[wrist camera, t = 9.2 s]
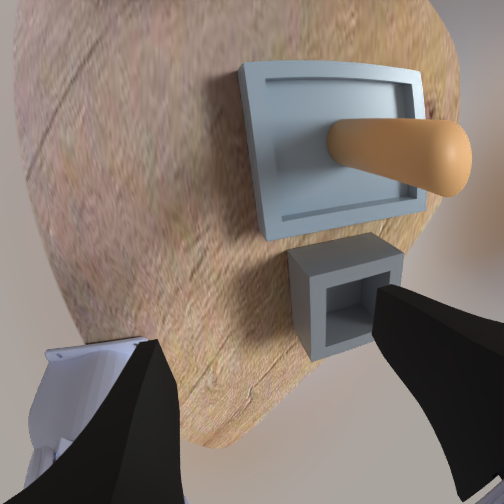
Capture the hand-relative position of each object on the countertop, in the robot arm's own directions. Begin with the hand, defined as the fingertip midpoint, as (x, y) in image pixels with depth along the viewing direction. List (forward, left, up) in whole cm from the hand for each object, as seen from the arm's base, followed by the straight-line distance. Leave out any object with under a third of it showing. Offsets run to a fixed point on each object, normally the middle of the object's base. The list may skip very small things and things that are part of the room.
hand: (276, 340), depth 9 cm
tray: (+8, +5, -10) cm, 14 cm away
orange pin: (+8, +5, -9) cm, 13 cm away
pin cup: (+7, -5, -10) cm, 13 cm away
